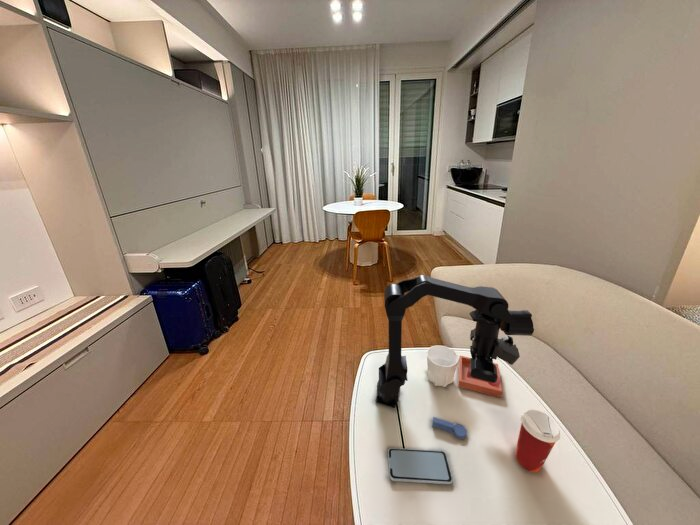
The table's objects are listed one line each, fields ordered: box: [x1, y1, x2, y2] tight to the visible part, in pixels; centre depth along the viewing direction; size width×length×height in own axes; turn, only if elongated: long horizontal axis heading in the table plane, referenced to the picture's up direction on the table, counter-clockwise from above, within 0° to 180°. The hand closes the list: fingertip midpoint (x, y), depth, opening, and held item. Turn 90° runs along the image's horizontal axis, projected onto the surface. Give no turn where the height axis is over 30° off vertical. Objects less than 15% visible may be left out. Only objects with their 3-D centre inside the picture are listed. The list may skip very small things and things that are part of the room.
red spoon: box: [467, 368, 502, 387], centre depth 78 cm, size 9×4×2 cm, turn 67°
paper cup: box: [514, 409, 561, 473], centre depth 65 cm, size 8×8×14 cm
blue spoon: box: [431, 416, 468, 440], centre depth 75 cm, size 9×4×2 cm, turn 68°
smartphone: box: [387, 447, 453, 485], centre depth 67 cm, size 7×1×15 cm
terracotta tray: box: [457, 355, 503, 398], centre depth 92 cm, size 13×13×3 cm
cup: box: [426, 344, 459, 388], centre depth 91 cm, size 10×10×10 cm
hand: (478, 375), depth 79 cm, fingers closed on red spoon, 1 cm apart
